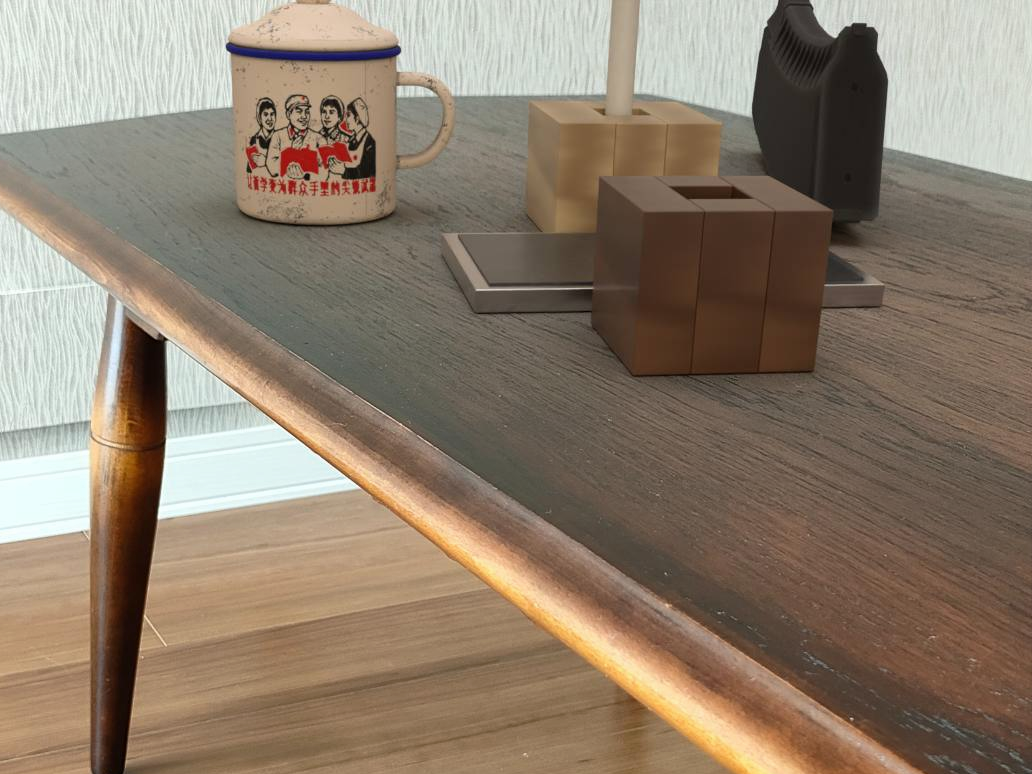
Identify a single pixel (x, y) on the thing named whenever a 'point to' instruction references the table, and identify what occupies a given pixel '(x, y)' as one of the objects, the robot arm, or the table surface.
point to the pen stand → (608, 154)
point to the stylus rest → (709, 274)
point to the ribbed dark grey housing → (822, 110)
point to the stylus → (622, 57)
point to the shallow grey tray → (580, 273)
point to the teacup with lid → (321, 115)
